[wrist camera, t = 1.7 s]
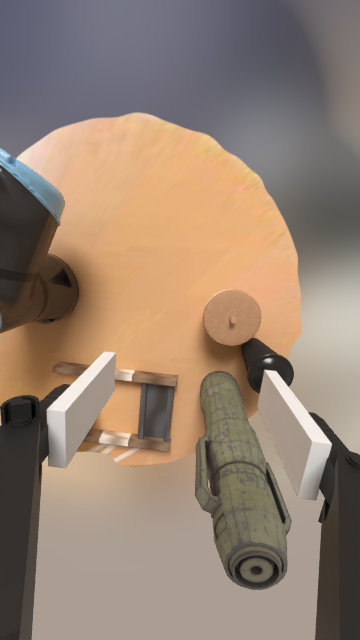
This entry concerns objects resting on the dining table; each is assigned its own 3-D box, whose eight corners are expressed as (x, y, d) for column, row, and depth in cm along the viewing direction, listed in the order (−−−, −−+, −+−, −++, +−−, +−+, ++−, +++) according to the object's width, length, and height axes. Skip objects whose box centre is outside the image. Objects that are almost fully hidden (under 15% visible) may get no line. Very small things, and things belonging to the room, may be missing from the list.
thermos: (199, 364, 56) (209, 520, 22) (249, 378, 56) (334, 554, 22) (189, 397, 58) (183, 587, 24) (237, 410, 58) (298, 618, 24)
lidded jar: (259, 294, 52) (273, 301, 43) (241, 340, 54) (251, 356, 45) (211, 279, 52) (214, 283, 43) (195, 326, 54) (195, 339, 45)
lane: (60, 429, 62) (54, 437, 59) (59, 361, 58) (52, 367, 55) (170, 442, 61) (169, 451, 58) (177, 375, 57) (176, 381, 54)
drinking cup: (232, 335, 54) (253, 375, 35) (267, 328, 53) (309, 366, 34) (237, 366, 56) (261, 422, 36) (271, 361, 55) (314, 414, 36)
